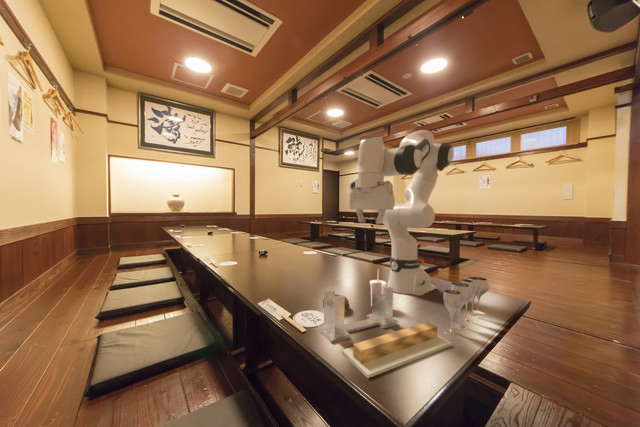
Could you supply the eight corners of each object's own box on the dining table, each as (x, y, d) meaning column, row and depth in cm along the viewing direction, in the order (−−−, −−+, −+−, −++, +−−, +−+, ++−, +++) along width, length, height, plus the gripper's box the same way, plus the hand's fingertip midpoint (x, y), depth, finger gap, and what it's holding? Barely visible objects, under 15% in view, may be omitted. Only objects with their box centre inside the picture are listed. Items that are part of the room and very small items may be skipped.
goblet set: (458, 339, 68) (459, 291, 67) (437, 330, 72) (438, 286, 72) (490, 312, 85) (491, 275, 85) (472, 307, 90) (473, 272, 90)
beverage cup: (389, 308, 88) (390, 270, 87) (374, 310, 86) (375, 271, 85) (379, 302, 93) (380, 266, 93) (366, 304, 91) (366, 267, 91)
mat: (420, 328, 73) (420, 326, 73) (451, 345, 64) (451, 342, 64) (341, 353, 60) (341, 350, 60) (367, 378, 51) (367, 374, 51)
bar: (427, 332, 69) (427, 321, 69) (437, 337, 66) (437, 326, 66) (353, 356, 57) (353, 344, 57) (361, 363, 54) (361, 350, 54)
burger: (336, 302, 93) (336, 290, 93) (354, 310, 86) (354, 297, 86) (316, 308, 87) (316, 295, 87) (334, 318, 80) (334, 304, 80)
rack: (380, 314, 82) (381, 280, 82) (397, 324, 75) (398, 287, 75) (317, 329, 71) (318, 290, 71) (331, 343, 64) (332, 300, 64)
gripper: (399, 180, 77) (398, 224, 77) (360, 186, 95) (359, 221, 95) (384, 179, 74) (383, 224, 74) (346, 185, 92) (346, 221, 92)
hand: (369, 222), depth 84 cm, fingers open, 8 cm apart
